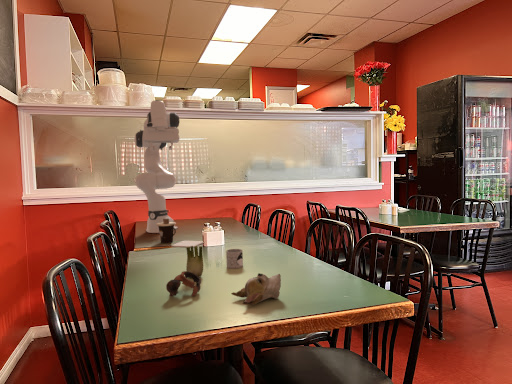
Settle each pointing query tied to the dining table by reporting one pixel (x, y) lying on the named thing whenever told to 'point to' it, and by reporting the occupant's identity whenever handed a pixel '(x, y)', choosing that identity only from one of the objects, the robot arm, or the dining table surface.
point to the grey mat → (187, 244)
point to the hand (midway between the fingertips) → (162, 149)
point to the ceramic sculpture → (260, 289)
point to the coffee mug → (166, 233)
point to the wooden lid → (166, 223)
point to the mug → (234, 258)
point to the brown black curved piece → (175, 284)
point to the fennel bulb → (195, 261)
